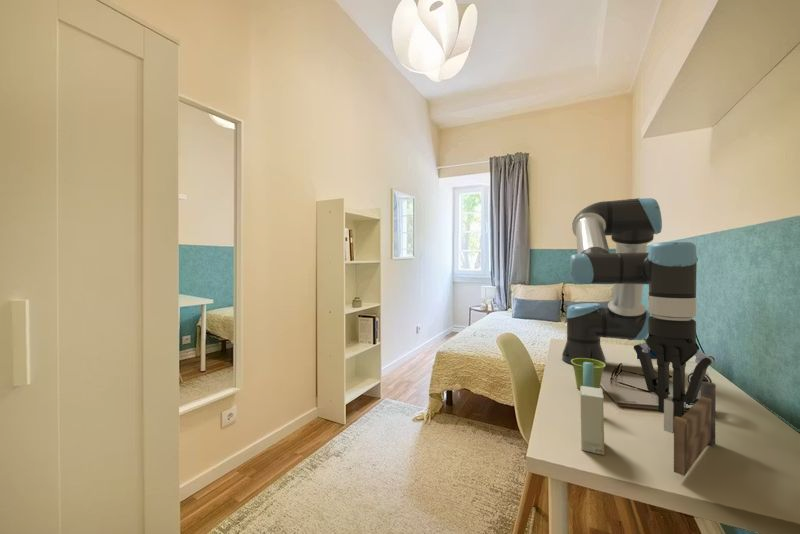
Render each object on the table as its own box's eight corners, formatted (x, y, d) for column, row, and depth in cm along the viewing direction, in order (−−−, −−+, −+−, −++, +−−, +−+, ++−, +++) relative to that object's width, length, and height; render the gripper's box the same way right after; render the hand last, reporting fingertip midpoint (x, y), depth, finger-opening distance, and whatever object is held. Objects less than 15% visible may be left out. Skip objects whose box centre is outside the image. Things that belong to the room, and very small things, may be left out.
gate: (701, 437, 73) (702, 380, 73) (716, 442, 71) (716, 384, 71) (670, 476, 60) (670, 408, 60) (687, 484, 58) (687, 413, 58)
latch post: (584, 407, 89) (584, 361, 89) (594, 410, 88) (594, 363, 87) (582, 411, 87) (582, 363, 87) (592, 413, 86) (592, 365, 86)
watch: (684, 411, 86) (684, 371, 86) (687, 402, 92) (687, 364, 92) (713, 418, 82) (714, 376, 82) (715, 408, 88) (715, 368, 88)
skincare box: (604, 456, 67) (604, 398, 67) (580, 450, 69) (580, 394, 69) (602, 441, 73) (602, 388, 73) (580, 436, 75) (580, 384, 75)
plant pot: (604, 398, 95) (603, 369, 95) (568, 391, 101) (568, 363, 101) (606, 388, 103) (606, 361, 102) (573, 381, 108) (573, 356, 108)
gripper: (720, 319, 63) (719, 438, 63) (642, 311, 74) (641, 412, 74) (708, 324, 59) (707, 451, 59) (627, 314, 70) (626, 422, 70)
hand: (670, 429), depth 67 cm, fingers closed
